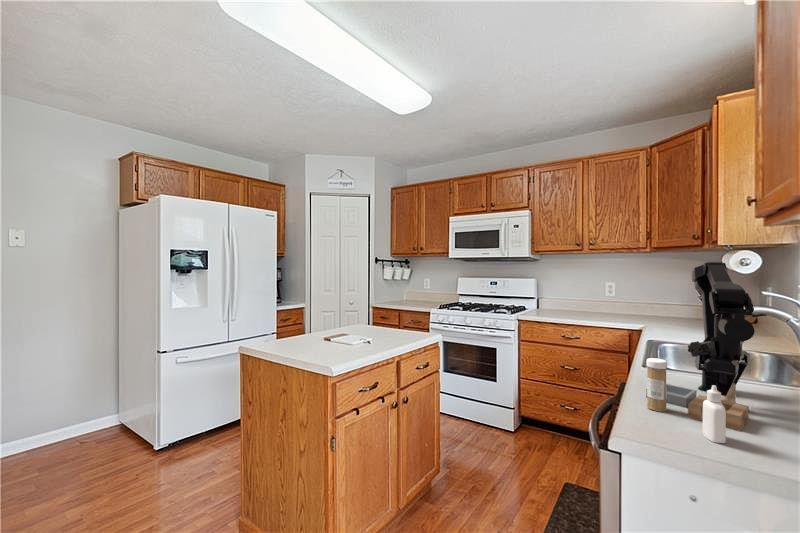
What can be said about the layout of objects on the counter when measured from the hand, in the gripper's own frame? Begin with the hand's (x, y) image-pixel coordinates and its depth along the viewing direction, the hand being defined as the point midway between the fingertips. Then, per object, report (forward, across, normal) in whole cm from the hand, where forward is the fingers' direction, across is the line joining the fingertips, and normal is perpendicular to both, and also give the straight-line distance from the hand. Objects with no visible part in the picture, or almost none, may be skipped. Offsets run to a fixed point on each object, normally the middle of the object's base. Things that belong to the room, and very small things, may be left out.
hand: (727, 391), depth 101 cm
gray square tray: (+5, +3, -12) cm, 13 cm away
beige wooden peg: (+5, 0, 0) cm, 5 cm away
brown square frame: (+5, +10, 0) cm, 11 cm away
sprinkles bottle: (+5, +15, -12) cm, 20 cm away
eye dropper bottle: (+5, +24, +2) cm, 25 cm away
